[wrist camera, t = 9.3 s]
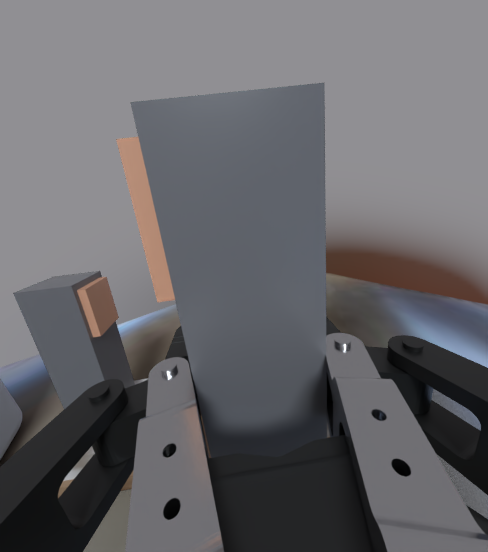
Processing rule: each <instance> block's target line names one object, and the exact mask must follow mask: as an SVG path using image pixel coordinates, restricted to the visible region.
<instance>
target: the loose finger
mask: <svg viewBox="0 0 488 552" xmlns="http://www.w3.org/2000/svg"><path fill="white" fill-rule="evenodd" d="M131 107H132V111H133V115H134V119H135V124H136V129H137V133H138V137H132V138H122V139H116V140H117V144H118V148H119V152H120V155H121V160H122V164H123V168H124V171H125V175H126V179H127V183H128V187H129V191H130V195H131V199H132V203H133V207H134V211H135V215H136V219H137V222H138V227H139V231H140V235H141V239H142V242H143V246H144V251H145V254H146V258H147V262H148V266H149V270H150V274H151V278H152V282H153V286H154V290H155V294H156V298H157V302H163V301H171V300H175V301H176V305H177V310H178V314H179V318H180V323H181V327H182V332H183V336H184V341H185V345H186V349H187V354H188V358H189V363H190V367H191V371H192V376H193V380H194V385H195V389H196V394H197V398H198V402H199V407H200V411H201V416H202V420H203V424H204V429H205V433H206V438H207V442H208V447H209V451H210V455H211V458H213V457H219V456H225V455H230V454H236V453H241V454H251V455H260V456H270V457H280V456H283V455H285V454H287V453H289V452H291V451H293V450H295V449H297V448H299V447H301V446H303V445H305V444H307V443H309V442H311V441H313V440H318V439H324V438H327V417H326V406H327V370H326V245H325V244H326V235H325V234H326V233H325V232H326V231H325V119H324V118H325V111H324V110H325V106H324V83H318V84H307V85H298V86H288V87H278V88H268V89H258V90H249V91H238V92H228V93H219V94H209V95H198V96H188V97H179V98H169V99H159V100H149V101H139V102H131Z"/></svg>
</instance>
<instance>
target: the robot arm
mask: <svg viewBox="0 0 488 552" xmlns="http://www.w3.org/2000/svg"><path fill="white" fill-rule="evenodd" d="M326 370H327V406H326V417H327V423H328V428H329V434H330V437H329V438H324V439H318V440H313V441H311V442H309V443H307V444H305V445H303V446H301V447H299V448H297V449H295V450H293V451H291V452H289V453H287V454H285V455H283V456H280V457H270V456H260V455H251V454H241V453H236V454H230V455H225V456H219V457H213V458H209V454H208V449H207V444H206V439H205V434H204V429H203V424H202V420H201V411H200V407H199V402H198V398H197V394H196V389H195V385H194V380H193V376H192V371H191V367H190V363H189V358H188V354H187V349H186V345H185V341H184V336H183V332H182V327H181V326H180V327H179V328H178V329H177V330H176V332H175V335H174V338H173V340H172V344H171V345H170V348H169V351H168V353H167V356H166V359H165V360H163V361H161V362H160V363H158V364H157V365H155V366H154V367H153V368H152V370H151V371H150V373H149V377H148V379H147V380H146V381H143V382H141V383H138V384H136V385H133V386H130V387H128V388H125V387H124V384H123V382H122V381H121V380H118V379H109V380H105V381H102V382H100V383H97V384H95V385H93V386H92V387H90V388H89V389H87V390H86V391H85V392H83V393H82V394H81V395H80V396H79V397H78V398H77V399H76V400H74V401H73V402H72V403H71V404H70V405H69V406H68V407H67V408H66V409H64V410H63V411H62V412H61V413H60V414H59V415H58V416H57V417H55V418H54V419H53V420H52V421H51V422H50V423H49V424H48V425H46V426H45V427H44V428H43V429H42V430H41V431H40V432H39V433H38V434H36V435H35V436H34V437H33V438H32V439H31V440H30V441H29V442H27V443H26V444H25V445H24V446H23V447H22V448H21V449H20V450H19V451H17V452H16V453H15V454H14V455H13V456H12V457H11V458H10V459H8V460H7V461H6V462H5V463H4V464H3V465H2V466H1V467H0V552H83V550H84V549H85V547H86V546H87V544H88V542H89V541H90V539H91V538H92V536H93V534H94V533H95V531H96V529H97V528H98V526H99V525H100V523H101V521H102V520H103V518H104V517H105V515H106V513H107V512H108V510H109V509H110V507H111V505H112V504H113V502H114V500H115V499H116V497H117V496H118V494H119V492H120V491H121V489H122V488H123V486H124V484H125V483H126V481H127V480H128V478H129V476H130V475H131V473H132V472H133V480H132V490H131V500H130V510H129V520H128V530H127V540H126V550H125V552H488V519H486V518H485V517H483V516H482V515H480V514H479V513H477V512H476V511H474V510H473V509H471V508H470V507H468V506H467V505H466V504H465V503H464V501H463V499H462V498H461V496H460V494H459V492H458V491H457V489H456V487H455V485H454V484H453V482H452V480H451V479H450V477H449V475H448V473H447V472H446V470H445V468H444V467H443V465H442V463H441V461H440V460H439V458H438V456H437V455H439V456H440V457H441V458H442V459H444V460H445V461H446V462H447V463H449V464H450V465H451V466H452V467H454V468H455V469H456V470H457V471H459V472H460V473H461V474H462V475H463V476H465V477H466V478H467V479H468V480H470V481H471V482H472V483H473V484H475V485H476V486H477V487H478V488H480V489H481V490H482V491H483V492H484V493H486V494H487V495H488V368H487V367H485V366H482V365H480V364H478V363H475V362H473V361H471V360H469V359H466V358H464V357H462V356H460V355H457V354H455V353H453V352H450V351H448V350H446V349H444V348H441V347H439V346H437V345H435V344H432V343H430V342H428V341H426V340H423V339H420V338H417V337H413V336H395V337H392V338H391V339H390V340H389V342H388V348H378V347H366V346H364V344H363V343H362V341H361V340H360V339H358V338H357V337H355V336H353V335H350V334H346V333H341V332H340V331H339V330H338V329H337V328H336V327H335V326H334V325H333V323H332V322H331V321H330V320H329V319H328V318H327V317H326ZM433 388H434V389H435V390H437V391H439V392H440V393H442V394H444V395H445V396H447V397H449V398H451V399H452V400H454V401H456V402H457V403H459V404H461V405H462V406H464V407H466V408H467V409H469V410H470V411H471V412H472V413H473V414H474V415H475V416H476V417H477V418H478V420H479V421H480V424H481V431H479V430H478V429H476V428H475V427H473V426H472V425H470V424H468V423H467V422H465V421H464V420H462V419H461V418H459V417H457V416H456V415H454V414H453V413H451V412H450V411H448V410H446V409H445V408H443V407H442V406H440V405H439V404H437V403H435V402H434V401H432V400H431V399H432V393H433ZM91 446H92V448H93V450H94V452H95V454H94V455H93V456H92V458H91V459H90V460H89V461H88V462H87V464H86V465H85V466H84V467H83V469H82V470H81V471H80V472H79V474H78V475H77V476H76V477H75V478H74V480H73V481H72V482H71V483H70V485H69V486H68V487H67V488H66V490H65V491H64V492H63V493H62V495H61V496H60V497H59V498H58V493H59V489H60V486H61V484H62V482H63V480H64V479H65V477H66V476H67V475H68V473H69V472H70V471H71V470H72V469H73V467H74V466H75V465H76V464H77V463H78V462H79V460H80V459H81V458H82V457H83V456H84V454H85V453H86V452H87V451H88V450H89V449H90V447H91ZM436 454H437V455H436Z"/></svg>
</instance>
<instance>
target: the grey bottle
mask: <svg viewBox="0 0 488 552" xmlns="http://www.w3.org/2000/svg"><path fill="white" fill-rule="evenodd" d="M21 422H22V411H21V409H20V408H19V406H18V405H17V403H16V402H15V400H14V399H13V397H12V396H11V394H10V393H9V391H8V390H7V388H6V387H5V385H4V384H3V382H2V381H1V379H0V460H1V458H2V457H3V455H4V453H5V451H6V450H7V448H8V446H9V445H10V443H11V441H12V440H13V438H14V436H15V435H16V433H17V431H18V429H19V427H20V425H21Z"/></svg>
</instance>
